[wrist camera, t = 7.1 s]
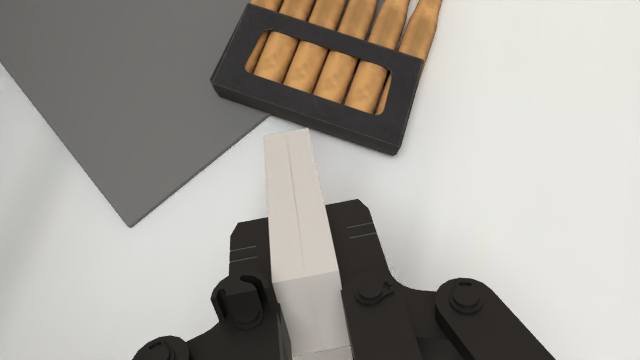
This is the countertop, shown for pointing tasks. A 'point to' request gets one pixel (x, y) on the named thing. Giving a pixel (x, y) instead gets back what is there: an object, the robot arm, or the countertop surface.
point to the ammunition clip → (330, 65)
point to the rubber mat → (130, 87)
